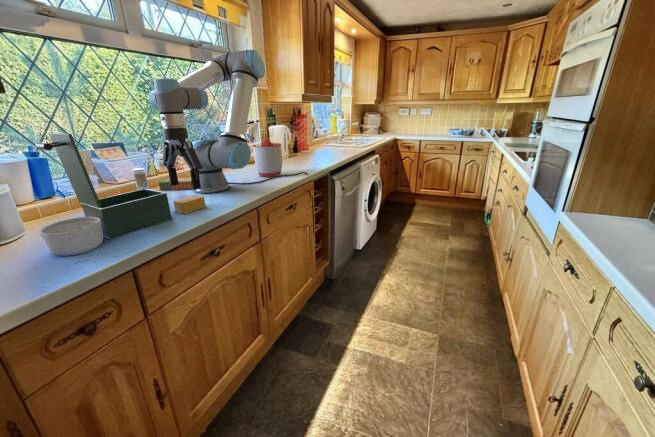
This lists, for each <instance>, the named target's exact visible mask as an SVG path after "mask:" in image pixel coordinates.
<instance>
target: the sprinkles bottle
mask: <svg viewBox="0 0 655 437" xmlns="http://www.w3.org/2000/svg"><path fill="white" fill-rule="evenodd" d="M131 171H132V175H133V177H134V182H135V186H136V191H137V190H141V189H150V185H149V182H148V179H147V174H146V169H145V168H144V167H139V168H138V167H137V168H133V169H132V170H131Z"/></svg>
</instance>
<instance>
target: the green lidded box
mask: <svg viewBox="0 0 655 437" xmlns="http://www.w3.org/2000/svg"><path fill="white" fill-rule="evenodd" d="M98 199H99V202H100V204H101V208H97V207H93V206H90V205H87V204H84V203H80V204H81V207H82V211H83V214H84V217H98V218H100V219H101V222H102V225H101V227H102V232H103V238H106V239H107V240H108V239H109V240H112V239H115V238H120V237H121V236H124V235H127V234H130V233H133V232H137V231H140V230H143V229H146V228H149V227H153V226H155V225H158V224H161V223H164V222H167V221H170V220H173V217H172V212H171V208H170V203H169V199H168V194H167V192H164V191H161V190H160V191H159V190H155V189H150V188H149V189H141V190H137V189H136V190H133V191H129V192H124V193H119V194H116V195H111V196H107V197H102V198H98Z"/></svg>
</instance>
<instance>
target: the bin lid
mask: <svg viewBox="0 0 655 437" xmlns="http://www.w3.org/2000/svg"><path fill="white" fill-rule="evenodd" d="M48 136H49V137H50V140H51V142H40V141H39V142H36V143H35V147H36V149H38V150H42V151H43V150H44V151H52V150H53V149H54V148H55V151H56V153H57V156H58V158H59V160H60V162H61V165H62V167H63V169H64V172H65V174H66V177H67V178H68V180H69V182H70V185H71V187H72V189H73V191H74V194H75V196H76V199H77V201H78V203H80V204H81V203H84V204H87V205H90V206H93V207H97V208H101V204H100V202H99V199H100V198H99V197H98V195H97V192H96V189H95V187H94V185H93V183H92V180H91V178H90V175H89V172H88V171H87V167H86V165H85V163H84V160H83V158H82V156H81V153H80V151H79V149H78V146H77V144H76V141H75V139H74V136H73V134H72V133H62V132H61V133H57V132H51V133H48Z"/></svg>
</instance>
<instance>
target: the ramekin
mask: <svg viewBox="0 0 655 437" xmlns="http://www.w3.org/2000/svg"><path fill="white" fill-rule="evenodd" d="M101 225H102V222H101V219H100V218H98V217H85V216H82V217H81V216H80V217H73V218H68V219H63V220H59V221H57V222H56V221H55V222H53V223H50V224H48V225H46V226H44V227H42V228H41V229H40V230H39V236H40V237H41V238H42V239H43V241H44V243H45V244H46V246H47V248H48V249H49V251H50V252H51V253H52V254H54V255H56V256H59V257H66V256H67V257H68V256H74V255H79V254H84V253H86V252H90V251H92V250H95V249H96V248H98V247H100V246H101V244H102V243H103V241H104V237H103V232H102V227H101Z"/></svg>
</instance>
